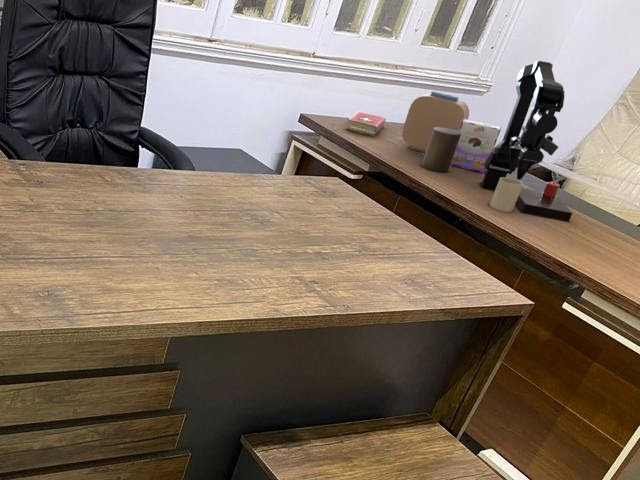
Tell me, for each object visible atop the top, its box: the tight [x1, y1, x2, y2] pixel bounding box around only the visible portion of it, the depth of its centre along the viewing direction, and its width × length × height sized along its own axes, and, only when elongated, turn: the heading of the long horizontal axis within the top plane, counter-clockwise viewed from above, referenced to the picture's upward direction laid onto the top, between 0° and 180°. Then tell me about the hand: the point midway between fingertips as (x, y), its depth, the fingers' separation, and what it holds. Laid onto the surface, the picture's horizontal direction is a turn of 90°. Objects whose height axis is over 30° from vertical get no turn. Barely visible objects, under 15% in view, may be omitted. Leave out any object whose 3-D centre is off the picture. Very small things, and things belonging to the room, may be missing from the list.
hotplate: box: [515, 187, 573, 223], centre depth 264 cm, size 16×21×3 cm
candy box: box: [450, 118, 502, 174], centre depth 292 cm, size 14×6×16 cm, turn 65°
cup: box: [489, 176, 524, 213], centre depth 256 cm, size 7×7×9 cm
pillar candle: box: [421, 127, 461, 173], centre depth 285 cm, size 10×10×15 cm
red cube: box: [542, 180, 561, 197], centre depth 267 cm, size 4×4×4 cm
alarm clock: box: [401, 90, 470, 154], centre depth 305 cm, size 21×10×22 cm, turn 58°
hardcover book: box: [346, 110, 387, 137], centre depth 327 cm, size 12×21×4 cm, turn 155°
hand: (515, 175), depth 253 cm, fingers open, 9 cm apart
